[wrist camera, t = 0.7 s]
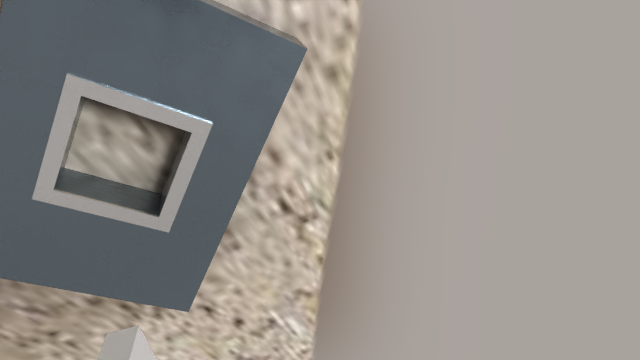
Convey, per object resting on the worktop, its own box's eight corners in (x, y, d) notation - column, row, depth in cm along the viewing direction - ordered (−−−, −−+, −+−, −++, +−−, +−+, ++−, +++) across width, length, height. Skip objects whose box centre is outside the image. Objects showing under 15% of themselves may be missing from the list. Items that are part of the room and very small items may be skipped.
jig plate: (37, -80, 26) (19, -81, 23) (297, 38, 33) (307, 49, 30) (-37, 241, 33) (-57, 269, 31) (188, 286, 40) (188, 313, 37)
